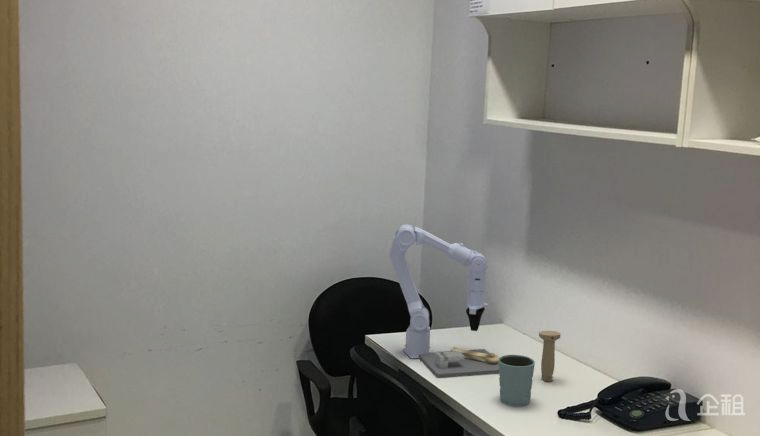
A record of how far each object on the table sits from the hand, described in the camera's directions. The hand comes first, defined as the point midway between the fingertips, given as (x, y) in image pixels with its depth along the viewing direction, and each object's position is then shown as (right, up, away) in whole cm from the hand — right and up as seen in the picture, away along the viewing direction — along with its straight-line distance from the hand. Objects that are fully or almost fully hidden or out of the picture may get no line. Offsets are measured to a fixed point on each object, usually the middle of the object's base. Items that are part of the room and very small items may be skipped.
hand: (474, 329), depth 250 cm
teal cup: (+7, -15, -35) cm, 39 cm away
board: (-5, -10, -6) cm, 13 cm away
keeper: (-9, -10, -11) cm, 17 cm away
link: (0, -9, -4) cm, 10 cm away
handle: (+20, -13, -18) cm, 30 cm away
